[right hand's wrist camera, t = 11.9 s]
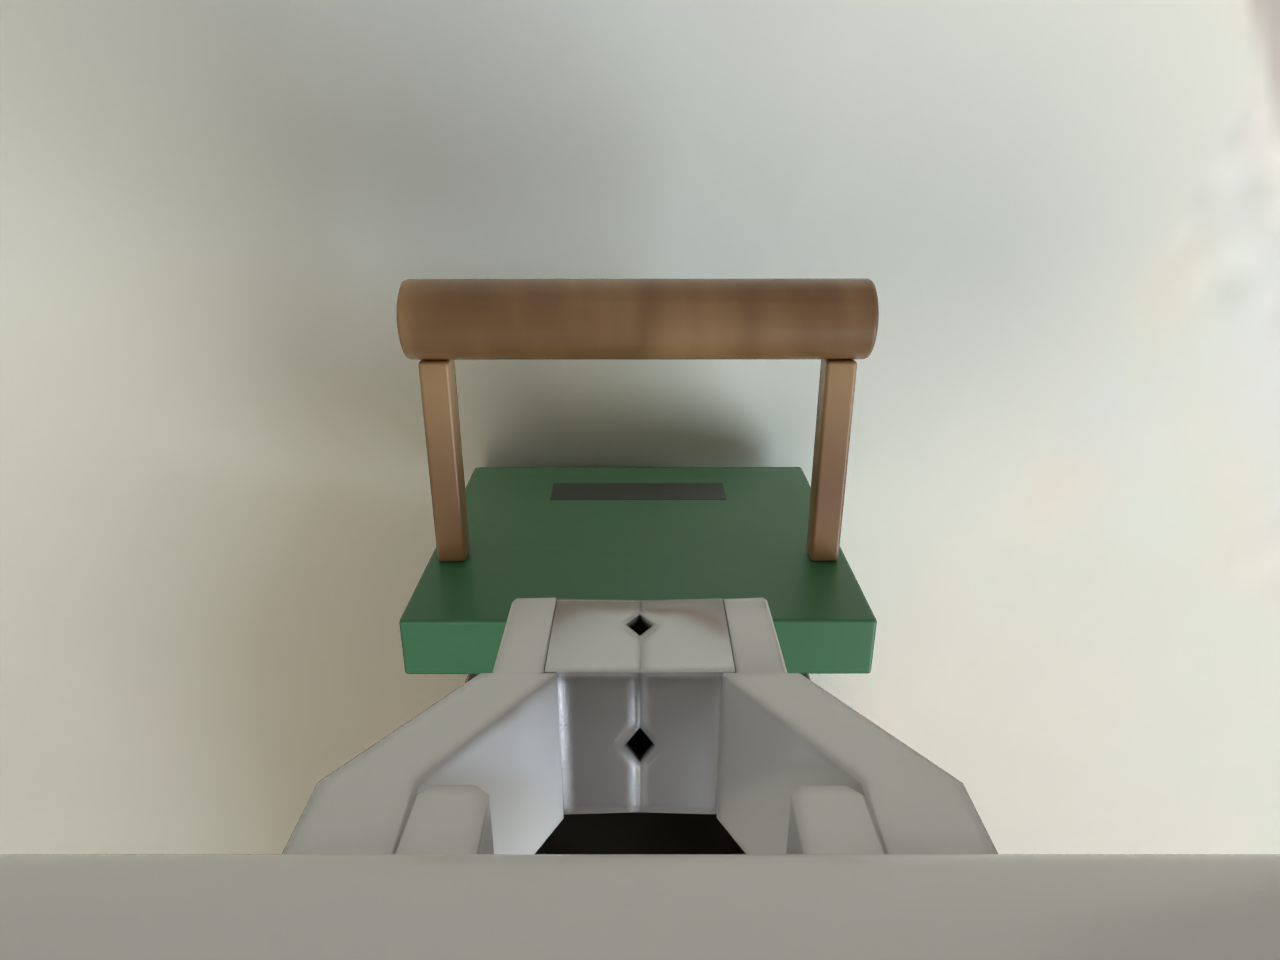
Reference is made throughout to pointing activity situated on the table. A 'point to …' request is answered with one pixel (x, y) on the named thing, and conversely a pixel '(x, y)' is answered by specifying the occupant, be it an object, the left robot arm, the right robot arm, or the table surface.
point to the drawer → (637, 489)
